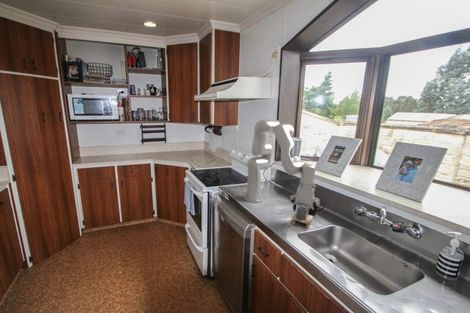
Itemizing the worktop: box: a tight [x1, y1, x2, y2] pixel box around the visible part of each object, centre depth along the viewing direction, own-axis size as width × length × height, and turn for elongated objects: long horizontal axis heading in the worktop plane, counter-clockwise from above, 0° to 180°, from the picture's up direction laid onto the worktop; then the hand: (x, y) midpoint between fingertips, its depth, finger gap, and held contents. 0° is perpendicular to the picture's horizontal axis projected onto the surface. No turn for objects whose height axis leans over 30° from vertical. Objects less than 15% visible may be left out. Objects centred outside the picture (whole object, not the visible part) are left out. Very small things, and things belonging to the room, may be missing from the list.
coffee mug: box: [305, 196, 325, 216], centre depth 156 cm, size 12×9×10 cm
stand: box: [290, 211, 314, 230], centre depth 144 cm, size 10×10×4 cm
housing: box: [295, 204, 309, 220], centre depth 143 cm, size 8×6×6 cm
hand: (302, 212), depth 143 cm, fingers open, 9 cm apart
